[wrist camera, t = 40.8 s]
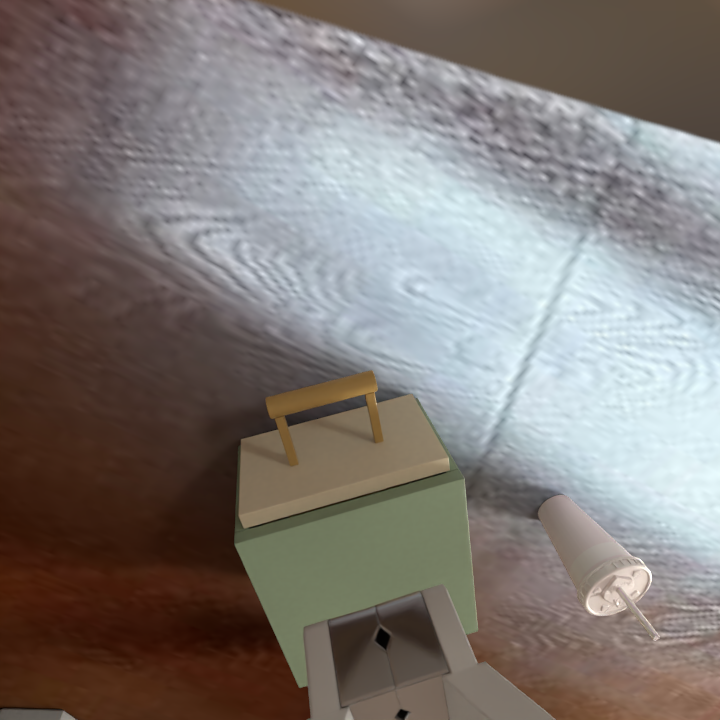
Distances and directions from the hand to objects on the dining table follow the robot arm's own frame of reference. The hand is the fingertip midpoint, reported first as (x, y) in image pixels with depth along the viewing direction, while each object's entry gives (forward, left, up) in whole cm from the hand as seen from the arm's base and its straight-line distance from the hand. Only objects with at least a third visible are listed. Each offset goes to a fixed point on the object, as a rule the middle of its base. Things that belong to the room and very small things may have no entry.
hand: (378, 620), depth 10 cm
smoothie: (+29, -22, -25) cm, 44 cm away
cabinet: (+7, -20, -25) cm, 33 cm away
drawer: (+6, -15, -24) cm, 29 cm away
